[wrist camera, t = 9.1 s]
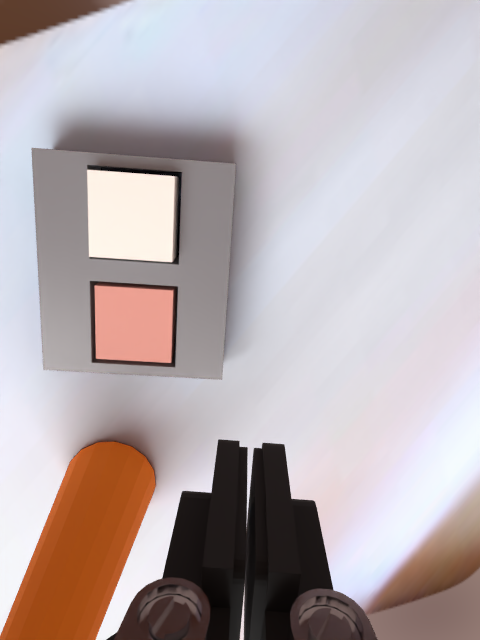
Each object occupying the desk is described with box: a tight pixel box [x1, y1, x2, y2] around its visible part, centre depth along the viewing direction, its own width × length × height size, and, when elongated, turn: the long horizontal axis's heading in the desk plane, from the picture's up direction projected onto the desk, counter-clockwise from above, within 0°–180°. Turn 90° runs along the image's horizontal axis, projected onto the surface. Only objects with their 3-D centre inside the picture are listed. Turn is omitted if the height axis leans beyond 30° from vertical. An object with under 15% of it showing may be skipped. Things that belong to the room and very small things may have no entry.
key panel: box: [32, 148, 236, 380], centre depth 30 cm, size 12×14×3 cm
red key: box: [95, 281, 177, 363], centre depth 31 cm, size 5×5×2 cm
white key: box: [87, 170, 179, 262], centre depth 28 cm, size 5×5×2 cm
